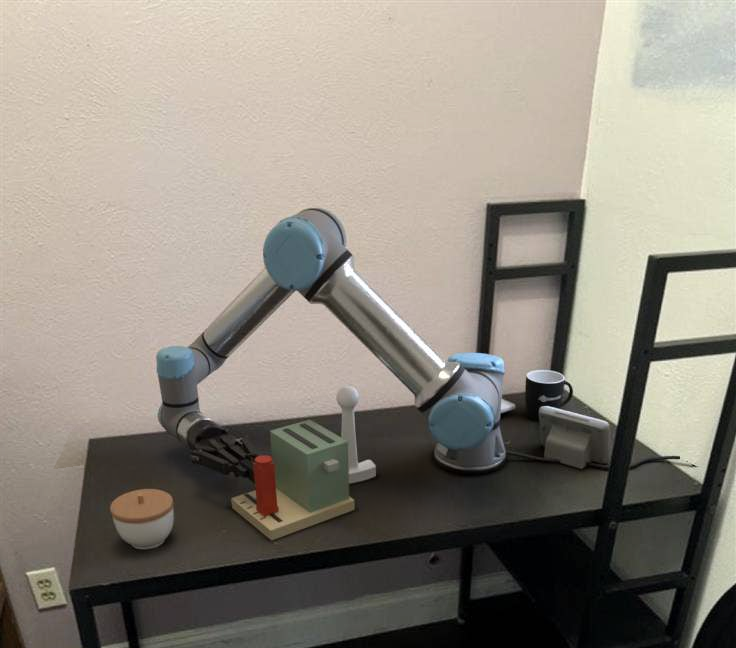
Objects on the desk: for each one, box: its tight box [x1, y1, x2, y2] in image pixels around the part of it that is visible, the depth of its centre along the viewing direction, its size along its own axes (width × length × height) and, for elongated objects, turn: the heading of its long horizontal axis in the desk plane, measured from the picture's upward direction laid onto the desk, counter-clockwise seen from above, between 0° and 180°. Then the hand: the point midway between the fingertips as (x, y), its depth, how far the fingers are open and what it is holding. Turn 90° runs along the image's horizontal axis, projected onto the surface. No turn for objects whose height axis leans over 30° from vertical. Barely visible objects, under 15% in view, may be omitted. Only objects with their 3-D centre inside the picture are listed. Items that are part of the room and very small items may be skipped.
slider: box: [253, 454, 279, 516], centre depth 142 cm, size 3×3×11 cm
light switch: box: [500, 398, 517, 414], centre depth 189 cm, size 10×10×5 cm
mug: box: [524, 369, 574, 422], centre depth 186 cm, size 12×9×10 cm
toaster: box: [230, 419, 356, 541], centre depth 146 cm, size 16×18×14 cm
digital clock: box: [538, 406, 611, 470], centre depth 166 cm, size 16×9×11 cm, turn 39°
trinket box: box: [109, 488, 175, 550], centre depth 138 cm, size 11×11×9 cm
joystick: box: [335, 385, 377, 484], centre depth 158 cm, size 11×8×20 cm
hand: (261, 478), depth 143 cm, fingers closed
